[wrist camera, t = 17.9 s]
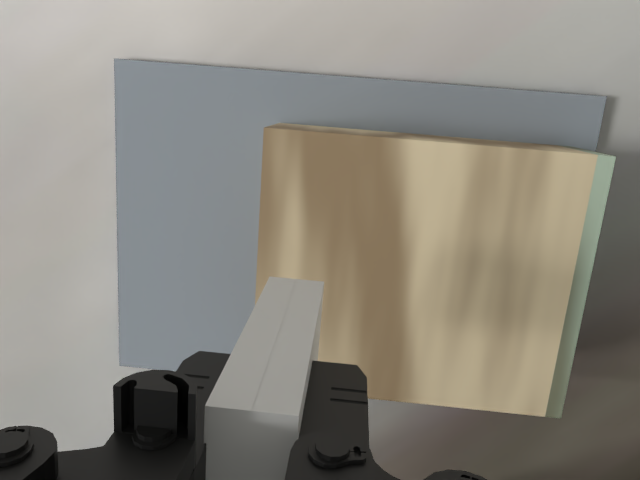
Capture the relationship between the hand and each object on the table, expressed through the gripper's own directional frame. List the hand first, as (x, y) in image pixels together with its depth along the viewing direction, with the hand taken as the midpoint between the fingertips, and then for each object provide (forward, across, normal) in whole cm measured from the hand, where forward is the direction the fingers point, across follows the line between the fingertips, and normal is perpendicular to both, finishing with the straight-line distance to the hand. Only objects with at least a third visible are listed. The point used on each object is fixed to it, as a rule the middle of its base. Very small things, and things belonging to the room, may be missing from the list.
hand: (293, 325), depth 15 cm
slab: (+7, -2, 0) cm, 8 cm away
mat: (+10, +1, 0) cm, 10 cm away
